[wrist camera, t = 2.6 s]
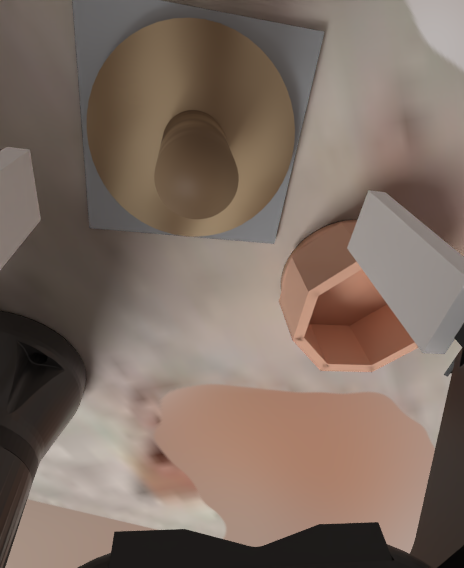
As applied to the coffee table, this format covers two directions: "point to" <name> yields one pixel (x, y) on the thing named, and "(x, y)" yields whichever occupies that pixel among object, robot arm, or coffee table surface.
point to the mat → (150, 9)
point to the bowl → (338, 306)
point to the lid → (190, 127)
